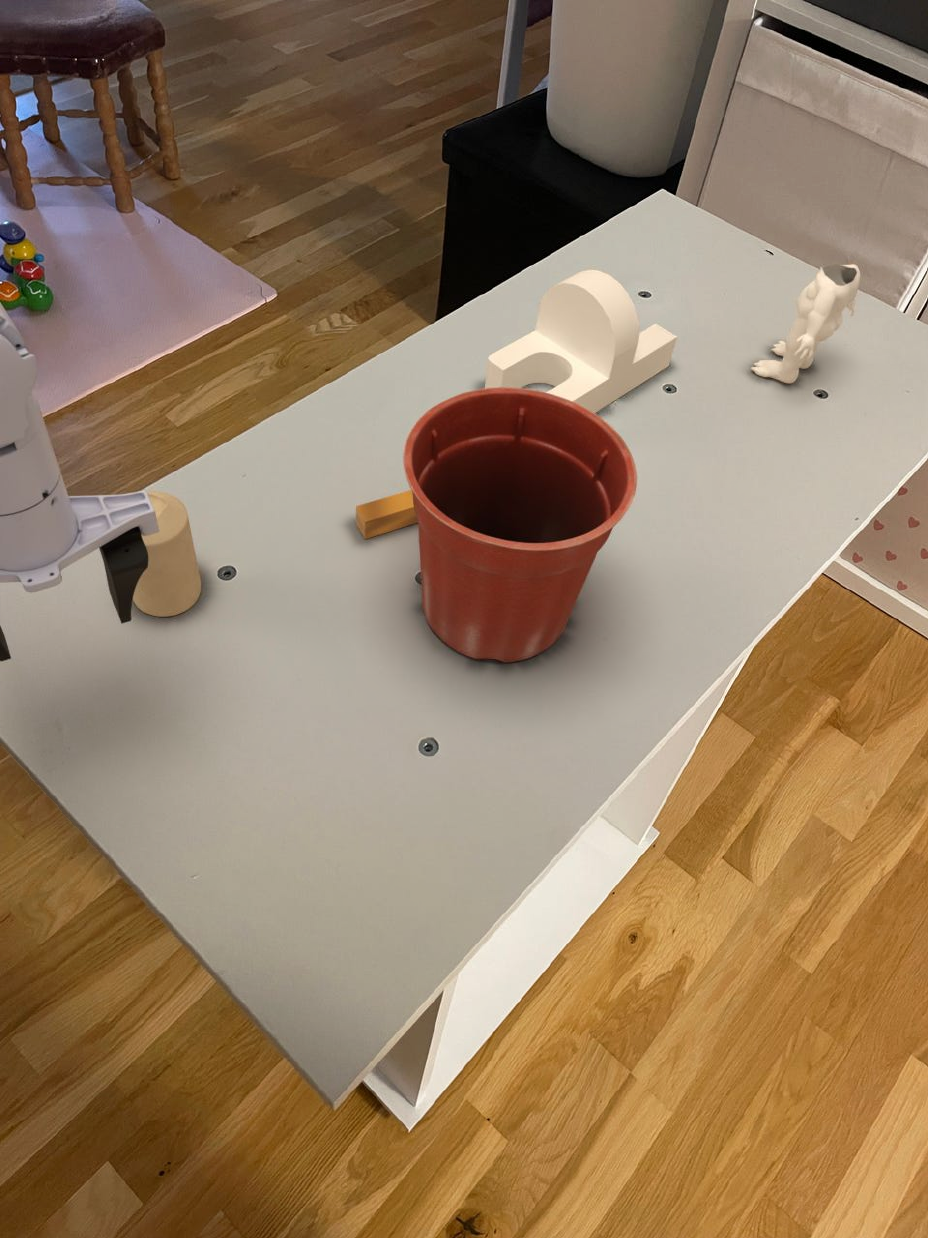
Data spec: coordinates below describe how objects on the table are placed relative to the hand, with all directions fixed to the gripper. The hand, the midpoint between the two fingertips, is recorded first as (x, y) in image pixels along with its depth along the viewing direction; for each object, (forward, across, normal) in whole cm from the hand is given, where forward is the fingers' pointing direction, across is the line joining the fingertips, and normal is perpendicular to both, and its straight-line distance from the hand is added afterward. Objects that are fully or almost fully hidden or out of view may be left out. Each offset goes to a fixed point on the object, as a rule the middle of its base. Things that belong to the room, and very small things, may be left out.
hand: (63, 629), depth 65 cm
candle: (+10, +8, +9) cm, 16 cm away
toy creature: (+10, +76, +13) cm, 78 cm away
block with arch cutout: (+10, +54, +20) cm, 58 cm away
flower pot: (+10, +32, -3) cm, 34 cm away
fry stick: (+10, +32, +9) cm, 35 cm away
